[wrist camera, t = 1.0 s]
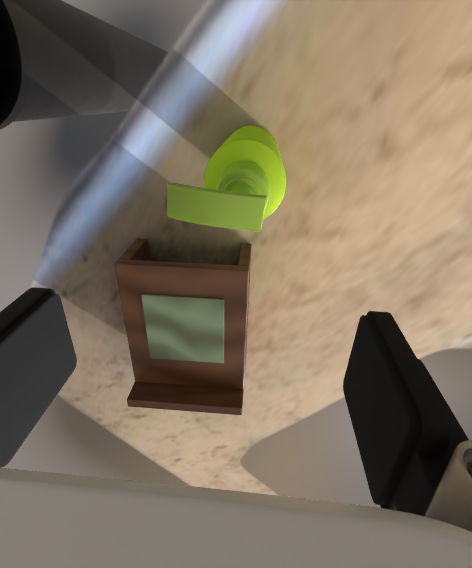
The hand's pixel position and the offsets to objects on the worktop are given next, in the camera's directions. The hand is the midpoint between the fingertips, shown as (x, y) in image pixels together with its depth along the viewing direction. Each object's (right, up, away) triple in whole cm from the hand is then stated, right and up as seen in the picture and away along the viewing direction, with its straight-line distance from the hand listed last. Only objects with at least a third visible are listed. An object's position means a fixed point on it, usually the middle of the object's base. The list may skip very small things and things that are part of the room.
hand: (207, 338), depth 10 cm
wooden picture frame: (-4, -1, +34) cm, 35 cm away
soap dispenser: (+2, +15, +25) cm, 29 cm away
